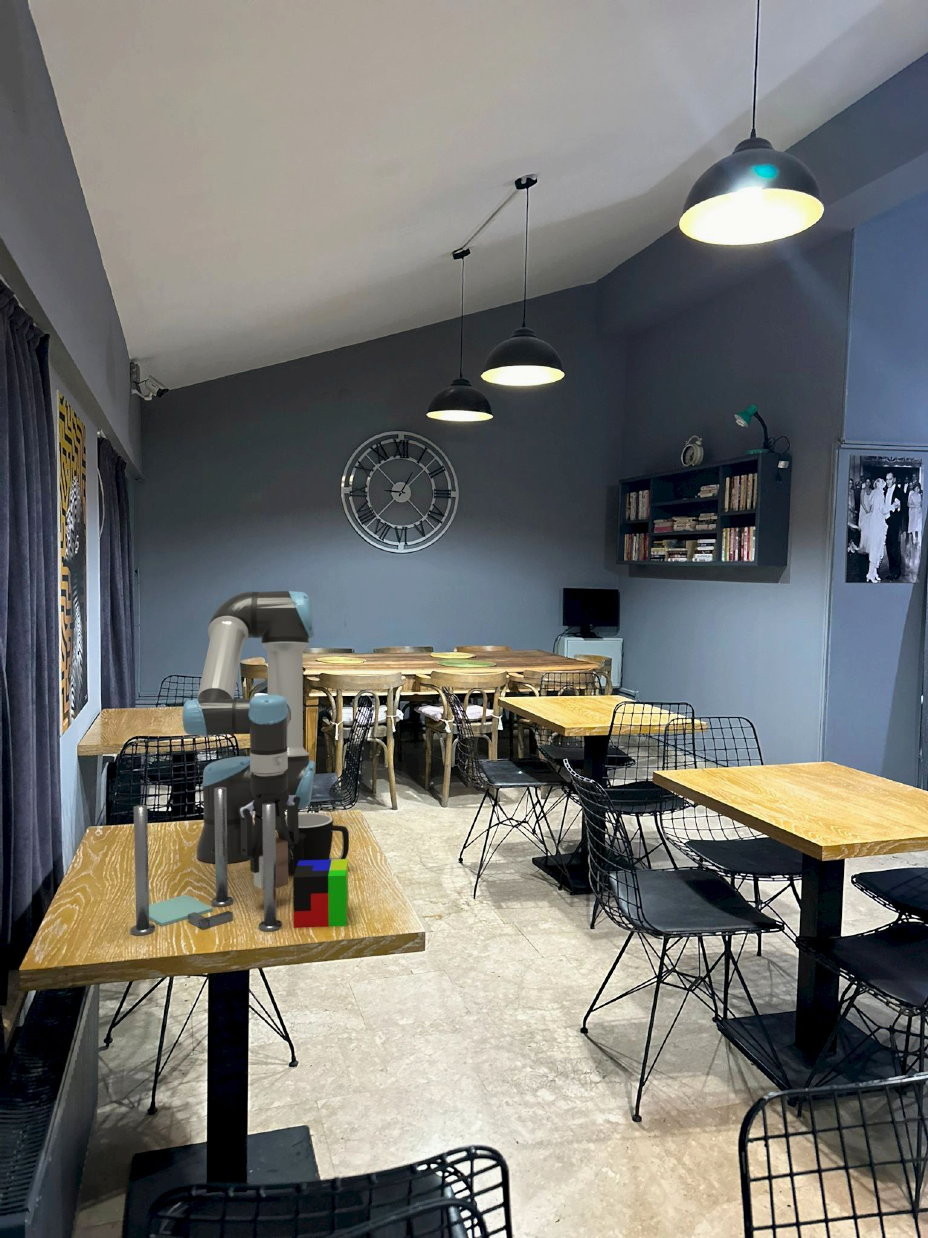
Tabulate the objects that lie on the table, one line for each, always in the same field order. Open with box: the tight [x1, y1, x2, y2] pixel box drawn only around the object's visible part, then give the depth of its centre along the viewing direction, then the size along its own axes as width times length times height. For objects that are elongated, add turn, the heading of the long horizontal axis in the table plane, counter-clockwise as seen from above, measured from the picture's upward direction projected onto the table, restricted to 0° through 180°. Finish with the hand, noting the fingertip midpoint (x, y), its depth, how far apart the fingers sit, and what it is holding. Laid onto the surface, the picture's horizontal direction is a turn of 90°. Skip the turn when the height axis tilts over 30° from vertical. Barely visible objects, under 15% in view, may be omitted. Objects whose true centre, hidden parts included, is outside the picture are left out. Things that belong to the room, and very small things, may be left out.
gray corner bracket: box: [187, 910, 234, 930], centre depth 171 cm, size 6×6×2 cm
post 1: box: [130, 804, 156, 937], centre depth 165 cm, size 4×4×24 cm
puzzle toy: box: [292, 858, 350, 929], centre depth 172 cm, size 10×10×10 cm
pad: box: [149, 894, 214, 927], centre depth 176 cm, size 11×11×1 cm
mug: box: [275, 812, 350, 876], centre depth 200 cm, size 16×16×12 cm
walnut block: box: [260, 837, 289, 889], centre depth 178 cm, size 5×5×9 cm
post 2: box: [210, 787, 234, 908], centre depth 180 cm, size 4×4×24 cm
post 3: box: [258, 803, 283, 933], centre depth 167 cm, size 4×4×24 cm
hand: (271, 882), depth 179 cm, fingers closed on walnut block, 5 cm apart
